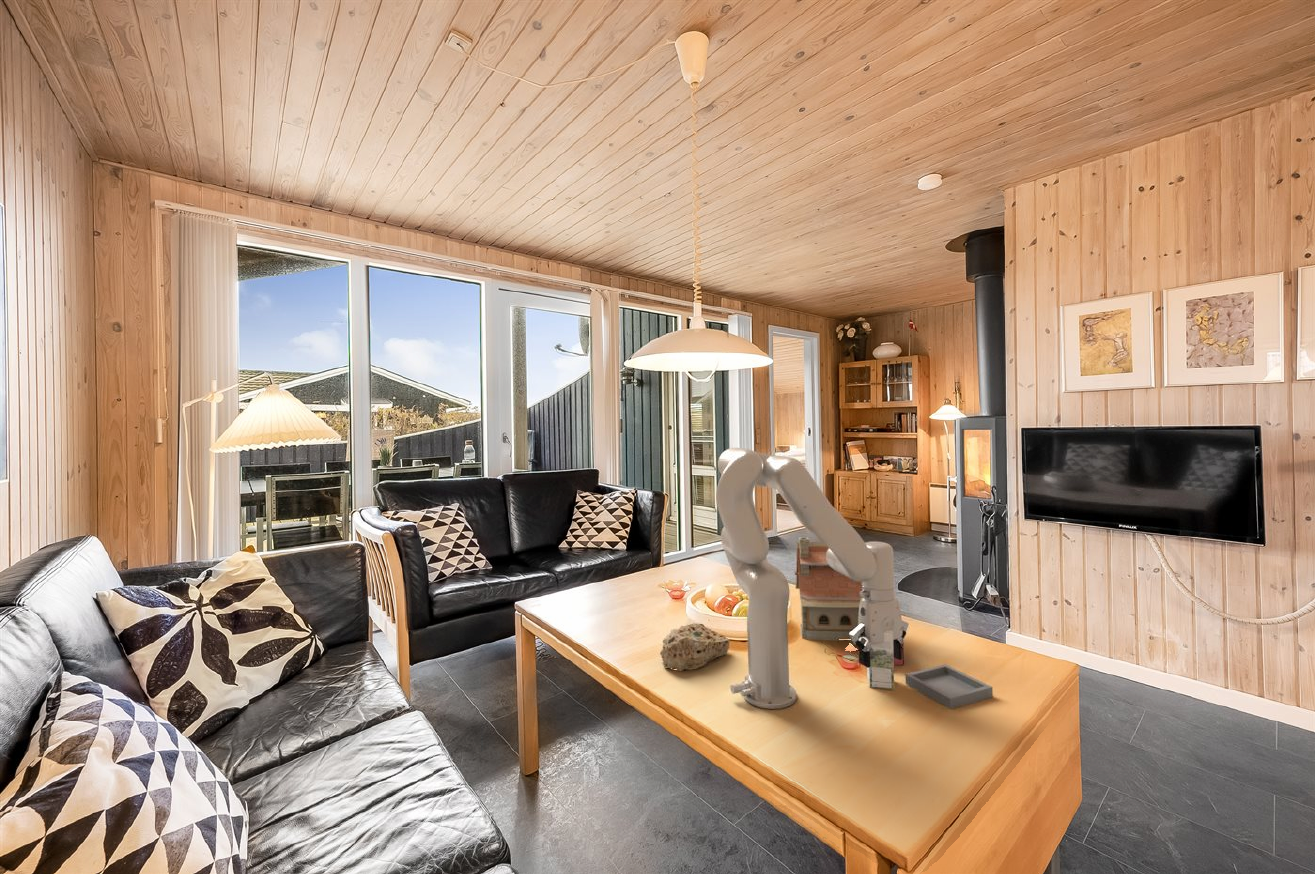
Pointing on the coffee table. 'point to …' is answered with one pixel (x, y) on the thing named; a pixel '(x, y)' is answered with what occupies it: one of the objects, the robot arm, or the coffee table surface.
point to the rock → (692, 647)
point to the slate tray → (948, 686)
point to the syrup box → (882, 663)
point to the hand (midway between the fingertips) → (880, 661)
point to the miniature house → (824, 595)
